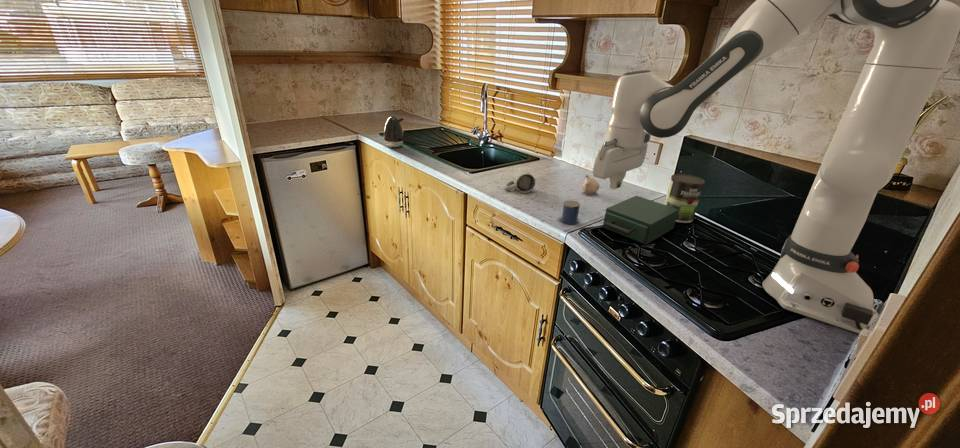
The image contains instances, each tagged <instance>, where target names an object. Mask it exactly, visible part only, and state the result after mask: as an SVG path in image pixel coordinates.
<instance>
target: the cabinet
mask: <svg viewBox="0 0 960 448" xmlns="http://www.w3.org/2000/svg"><path fill="white" fill-rule="evenodd" d="M664 204H665V203H660V202H657V201H655V200H651V199H648V198H645V197H642V196H640V195H634V196H632V197H629V198H627V199H625V200H622V201H620V202H618V203H616V204H614V205H611V206H609V207H606V209H605V213H606V212H610V213H613V214H616V215H619V216H621V217H624V218H627V219H629V220H632V221H635V222H638V223H640V224H643V225H646V226H647V227H648V230H647V234H646V238H645V241H644V242H643V243H642V242H640V241H637V240H635V239H632V238H630V237H627V236H625V235H622V234H620V233H618V232H615V231H613V230H610V229H608V228H605V227H603V226H602V228H603V229H605V230H607V231H610V232H612V233H615V234H618V235H620V236H622V237H625V238H627V239H630V240H632V241H635V242H637V243H639V244H642V245H645V246H647V245H648V244H650V243H652V242H654V241H655V240H656V239H658V238H661V237H662V236H663V235H665V234H666V233H669V232H670V231H672V230H673V229H675V226H676V225H675V224H676V222H675V221H676V217H677V214H678V210H679V209H676V208H673V207H670V206H667V205H664Z"/></svg>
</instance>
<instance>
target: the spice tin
mask: <svg viewBox="0 0 960 448" xmlns="http://www.w3.org/2000/svg"><path fill="white" fill-rule="evenodd" d="M580 207H581V203H580V202H579V201H576V200H571V199H570V200H565V201H563V207H562V215H561V222H562V223H564V224H567V225H576V224H577V223H578V219H579V213H580V212H579V211H580Z"/></svg>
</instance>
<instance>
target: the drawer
mask: <svg viewBox="0 0 960 448" xmlns="http://www.w3.org/2000/svg"><path fill="white" fill-rule="evenodd" d="M602 223H603V224H602V228H603V227H605V228H608V229H610V230H613V231H615V232H618V233H620V234H622V235H625V236H627V237H630V238H632V239H635V240H637V241H640V242H642V243H643V242H644V241H645V238H646V234H647V230H648V227H647V226H646V225H643V224H640V223H638V222H635V221H632V220H629V219H627V218H624V217H621V216H619V215H616V214H613V213H610V212H606V211H605V213H604V217H603V222H602ZM605 228H604V229H605ZM610 230H609V231H610ZM615 232H614V233H615ZM620 234H619V235H620ZM622 235H621V236H622ZM625 236H624V237H625ZM627 237H626V238H627ZM630 238H629V239H630ZM632 239H631V240H632ZM635 240H634V241H635ZM637 241H636V242H637ZM640 242H639V243H640ZM642 243H641V244H642Z"/></svg>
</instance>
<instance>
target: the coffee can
mask: <svg viewBox="0 0 960 448" xmlns="http://www.w3.org/2000/svg"><path fill="white" fill-rule="evenodd" d="M670 176H671V177H670V182H669V185H668V189H667V193H666V197H665V200H664V203H663V204H664V205H667V206H670V207H673V208H676V209H679V210H678V214H677V217H676V221H675V223H681V224H689V223H693V221H694V218H695V215H696V212H697V208H698V205H699V202H700V198H701V197H702V196H701V195H702V193H703V188H704V185H705V183H706V181H705V179H703V178H701V177H699V176H695V175H693V174H687V173H676V174H672V175H670Z"/></svg>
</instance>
